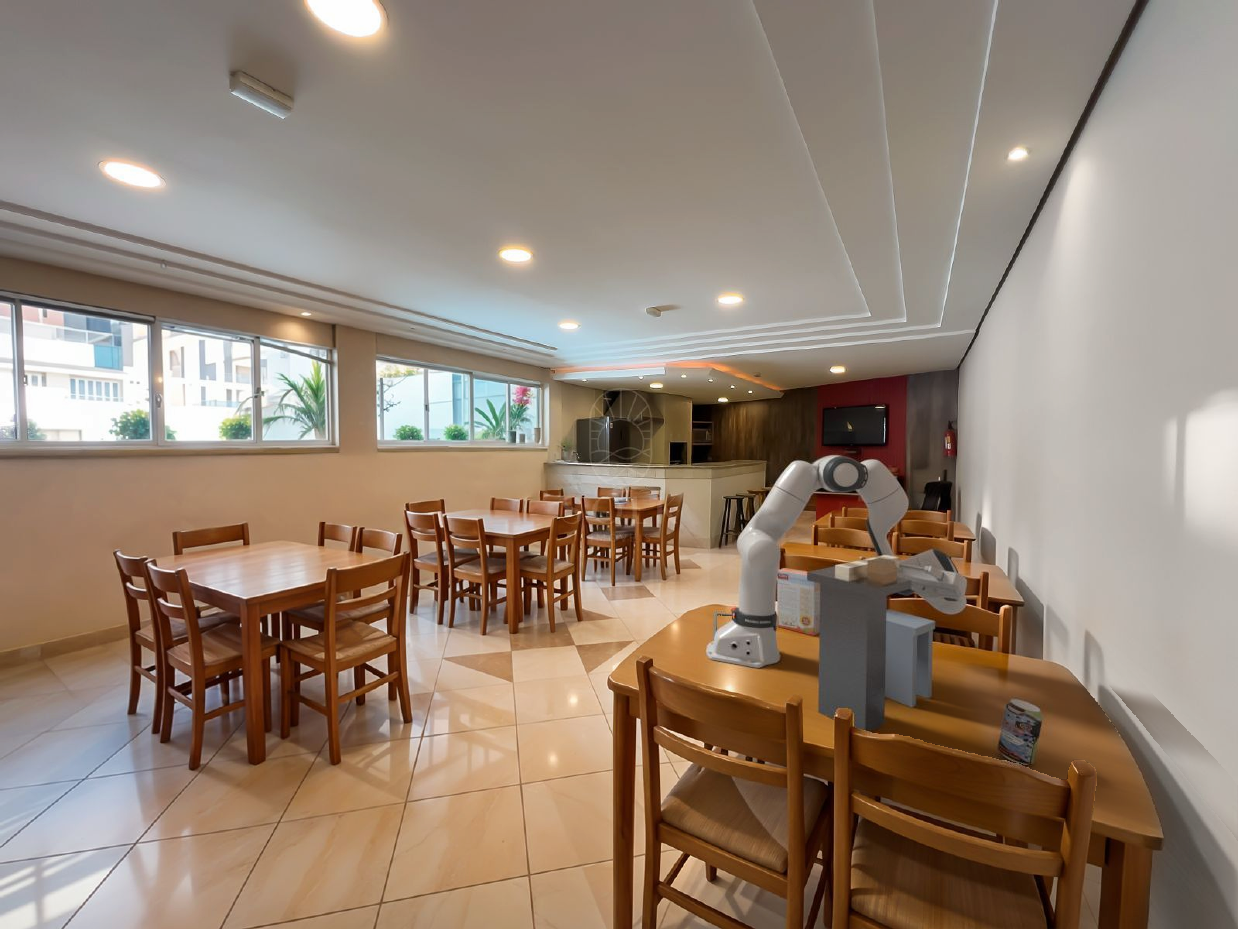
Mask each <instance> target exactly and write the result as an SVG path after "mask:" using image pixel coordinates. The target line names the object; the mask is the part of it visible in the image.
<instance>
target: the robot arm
mask: <svg viewBox="0 0 1238 929" xmlns="http://www.w3.org/2000/svg"><path fill="white" fill-rule="evenodd" d="M820 489H824V490H826V491H828V492H834V493H840V494H841V493H843V494H844V493H849V492H853V491H856V493H858V494H859V496H860V497H861V499H862V501H863V502H864V504H865V506H866V507H867V511H868V517H867V518H866V520H865V522H866V523H865V524H866V529H867V533H868V535H869V537H870V540H871V543H872V545H873V548H874V551H875V552H876V555H877V557H878V556H883V555H889V556H895V554H894V552H893V550H892V548H891V544H890V543H889V540H888V538H887V537H888V536H887V535H888V533H889V532H890V531H891V530H892V528H894V527H895V526H896V525H897V524H898V523H899V522H900V521H901V520H902V519H903V518H904V516H905V515H906V513H907V511H908V508H909V503H910V502H909V501H910V500H909V498H908V495H907V494H906V492H905V490H904V488H903V487H902V486H901V483H900V482H899V481H898V479H897V478H896V476H895V475H893V473H892V472H891V471H890V469H888V467H887V466H886V465H885V464H883V463H882V462H881V461H880V460H878V459H872V458H871V459H866V460H863V461H861V462H859V461H857V460H855V459H853V458H851V457H849V456H844V455H841V454H840V455H839V454H831V455H824V456H821V457H819V458H818V459H816V460H814V461H813V462H808V461H804V460H794V461H792V462H790V464H789V465H788V466H787V467H786V468H785V469H784V471H782V472H781V474H780V475H779V477H778V478H777V479H776V481H775V483H774V485H773V486H772V488H771V489H770V491H769V493H768V494H767V496H766V497H765V500H764V501H763V503H762V504H761V506H760V507H759V509H758V510H757V512H755V514H754V515H753V516H752V518H751V519H750V521H749V522H748V523H747V525H746V526H745V527H744V529H742V532H740V534H739V535H738V538H737V541H736V548H737V551H738V553H739V555H740V557H741V567H740V575H739V576H740V577H739V583H738V607H737V606H734V605H733V606H732V607H730V613H731V614H732V620H731V621H730V622H728V623H726V624H725V625H723V626H722V627H720V628H719V629H718V630H717V631H716V633H715V636H714V641H713V640H712V641H710V642H709V643H708V644H707V645H706V651H705V653H706V657H707V658H708V659H710V660H712V661H718V662H723V663H728V664H734V665H739V666H746V667H751V668H756V669H759V668H762V667H764V666H768V665H772V664H776V663H778V662H779V661H780V660H781V655H780V650H779V647H778V640H777V639H778V638H777V629H778V626H777V610H776V604H777V603H776V602H777V601H776V600H777V599H776V598H777V596H776V593H777V592H776V590H777V583H778V570H780V568H779V567H780V563H781V562H780V561H781V549H780V546H779V544H778V543H779V542H780V541H781V539H782V538H783V537H784V535H785V534H786V533H787V532H788V531H789V530H790V529H792V528H793V527H794V525H795V524H796V522H797V520H799V519H798V518H799V517H800V515H801V514H802V512H803V511H804V509H805V508H806V506H807V504H808V503H809V501H810V499H811V497H812V495H813V494H814V493H815V492H816V491H818V490H820ZM895 571H897V577H900V578H905V579H910V580H911V589H907V590H904V591H900V592H897V593H896V594H899V595H902V596H905V597H907V596H909V595H912V594H916V595H918V596H919V597H921V598H922V599H923V600H925V601H926V602H927V603H928V604H930V606H932V608H934V609H936V610H937V611H939V612H940V613H943V614H947V615H955V614H958V613H960V612H963V610H964V609H965V608H966V607H967V598H966V596H965V595H966V592H967V585H968V579H967V578H966V577H965V576H964V575H962V574H961V573H959V571H958V568H957V566H956V565H955V563H954V562H953V560H952V559H951V558H950V557H949V555H948V554H946V553H945V552H943V551H941V550H939V549H938V548H937V549H936V548H932V549H928V550H926V551H923V552H921V553H918V554H915V555H913V556H910V557H908V558H905V559H901V560H899V569H897V570H895Z"/></svg>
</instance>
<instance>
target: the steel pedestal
mask: <svg viewBox="0 0 1238 929" xmlns="http://www.w3.org/2000/svg"><path fill="white" fill-rule="evenodd" d="M806 572H807V580H808V581H812V582H816V583H820V632H819V633H818V634H819V640H818V642H819V643H818V644H819V645H818V646H819V647H818V649H819V650H818V704H817V707H818V709H817V712H818V713H820V714H821V715H823V714H824V716H825V715H827V716H829V717H828V718H830V719H832V720H834V719H833V718H834V715H835V712H836V710H837V709H838V708H848V709H851V710H852V712H853V713H854V727H856V728H859V729H862V730H866V731H871V732H873V731H875V730H876V729H879V728H880V727H882V726H884V725H885V719H886V718H885V715H886V714H885V712H886V711H885V708H886V707H885V705H886V704H885V703H886V701H885V700H886V697H885V665H886V612H887V610H888V609H887V608H888V607H887V606H888V605H887V602H888V601H887V600H888V599H887V598H888V596H890V595H893V594H898V593H897V592H900V591H904V590H907V589H911V580H910V579H905V578H900V577H897V571H895V561H893V560H887V559H882V558H878V559H873V560H868V567H867V577H864V578H860V579H856V580H852V581H846V580H841V579H837V578H835V565H834V566H830V567H826V568H821V569H816V570H810V571H806ZM827 716H826V717H827Z"/></svg>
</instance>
